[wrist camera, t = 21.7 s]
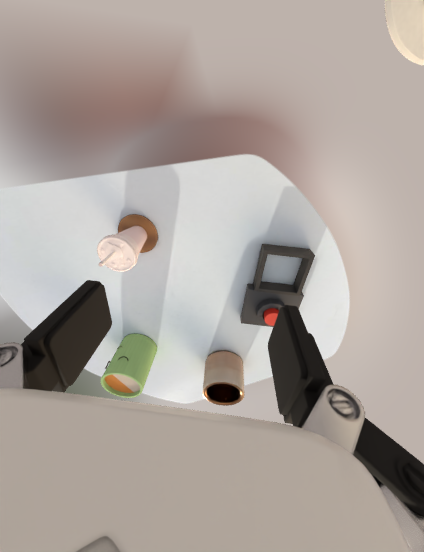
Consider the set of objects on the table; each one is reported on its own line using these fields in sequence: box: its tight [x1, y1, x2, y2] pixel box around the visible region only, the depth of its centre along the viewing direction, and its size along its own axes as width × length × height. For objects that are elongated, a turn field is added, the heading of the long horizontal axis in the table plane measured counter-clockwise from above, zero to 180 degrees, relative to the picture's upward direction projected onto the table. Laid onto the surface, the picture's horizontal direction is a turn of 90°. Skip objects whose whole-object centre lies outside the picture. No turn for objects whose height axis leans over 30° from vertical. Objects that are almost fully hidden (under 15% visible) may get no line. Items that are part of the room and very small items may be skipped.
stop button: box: [264, 308, 279, 326], centre depth 46 cm, size 4×4×2 cm
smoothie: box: [97, 226, 147, 272], centre depth 37 cm, size 6×6×14 cm
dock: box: [253, 244, 315, 296], centre depth 44 cm, size 10×10×3 cm
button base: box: [241, 284, 304, 327], centre depth 48 cm, size 10×12×4 cm
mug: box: [101, 334, 157, 398], centre depth 56 cm, size 13×10×12 cm
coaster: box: [118, 214, 158, 253], centre depth 43 cm, size 8×8×1 cm
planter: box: [203, 351, 244, 405], centre depth 58 cm, size 11×11×10 cm
